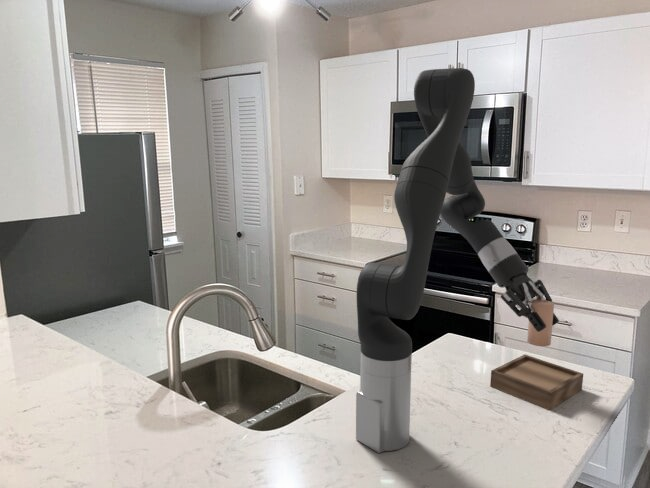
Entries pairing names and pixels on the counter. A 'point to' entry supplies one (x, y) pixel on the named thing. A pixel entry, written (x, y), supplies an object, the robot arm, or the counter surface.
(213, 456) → the counter surface
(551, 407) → the square brown tray
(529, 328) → the tan cylinder
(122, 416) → the counter surface
